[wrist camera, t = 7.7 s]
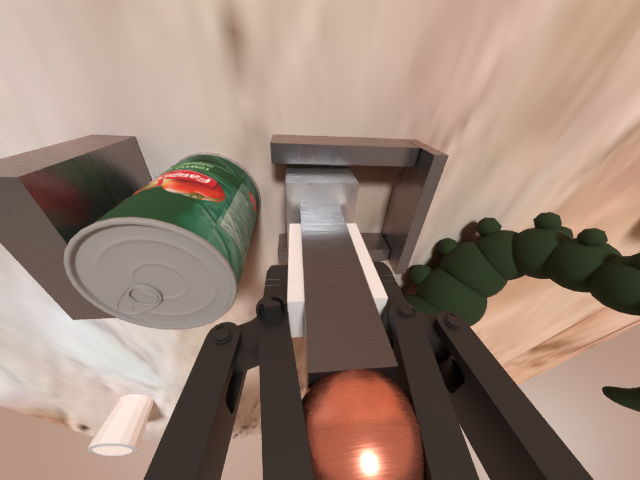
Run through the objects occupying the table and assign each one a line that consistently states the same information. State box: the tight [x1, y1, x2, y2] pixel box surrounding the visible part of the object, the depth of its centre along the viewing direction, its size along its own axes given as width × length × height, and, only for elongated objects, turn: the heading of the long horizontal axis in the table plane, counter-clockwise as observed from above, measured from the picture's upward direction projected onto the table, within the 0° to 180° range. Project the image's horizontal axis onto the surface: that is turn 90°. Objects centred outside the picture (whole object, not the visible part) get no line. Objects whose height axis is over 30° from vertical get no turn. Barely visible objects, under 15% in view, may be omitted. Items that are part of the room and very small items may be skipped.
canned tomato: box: [64, 153, 261, 330], centre depth 16 cm, size 8×8×11 cm
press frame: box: [0, 135, 449, 320], centre depth 17 cm, size 11×26×9 cm, turn 87°
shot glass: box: [87, 394, 154, 456], centre depth 39 cm, size 7×7×7 cm
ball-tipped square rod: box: [285, 164, 425, 480], centre depth 13 cm, size 7×5×20 cm
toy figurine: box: [404, 212, 640, 412], centre depth 22 cm, size 9×19×25 cm
